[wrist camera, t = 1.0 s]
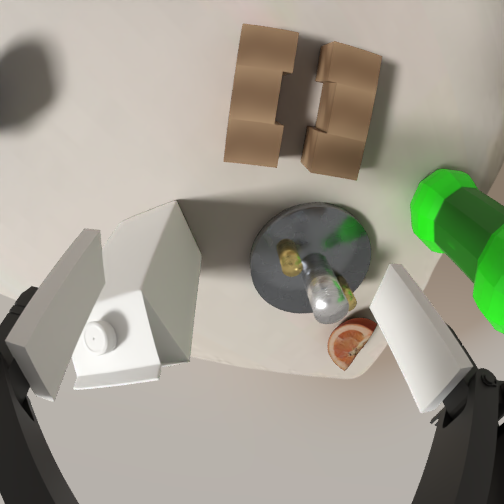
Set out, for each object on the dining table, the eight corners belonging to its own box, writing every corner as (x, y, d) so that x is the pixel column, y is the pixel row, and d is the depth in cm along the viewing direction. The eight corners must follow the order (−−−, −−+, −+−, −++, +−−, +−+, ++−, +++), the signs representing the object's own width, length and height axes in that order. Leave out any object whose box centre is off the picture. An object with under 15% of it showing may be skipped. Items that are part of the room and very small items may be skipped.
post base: (259, 194, 30) (270, 235, 23) (380, 211, 32) (420, 251, 24) (243, 302, 37) (246, 358, 30) (346, 307, 39) (368, 356, 31)
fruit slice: (352, 348, 44) (361, 372, 40) (315, 345, 43) (322, 371, 38) (378, 309, 40) (392, 333, 36) (339, 302, 39) (351, 328, 34)
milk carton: (202, 255, 34) (186, 408, 17) (147, 272, 34) (104, 415, 18) (177, 198, 30) (124, 338, 14) (119, 221, 31) (39, 354, 14)
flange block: (241, 32, 22) (242, 23, 19) (363, 58, 23) (382, 56, 20) (224, 152, 28) (223, 161, 24) (342, 168, 29) (356, 180, 26)
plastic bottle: (401, 154, 29) (591, 292, 7) (466, 163, 29) (622, 273, 8) (388, 236, 34) (512, 407, 12) (451, 234, 34) (569, 366, 13)
